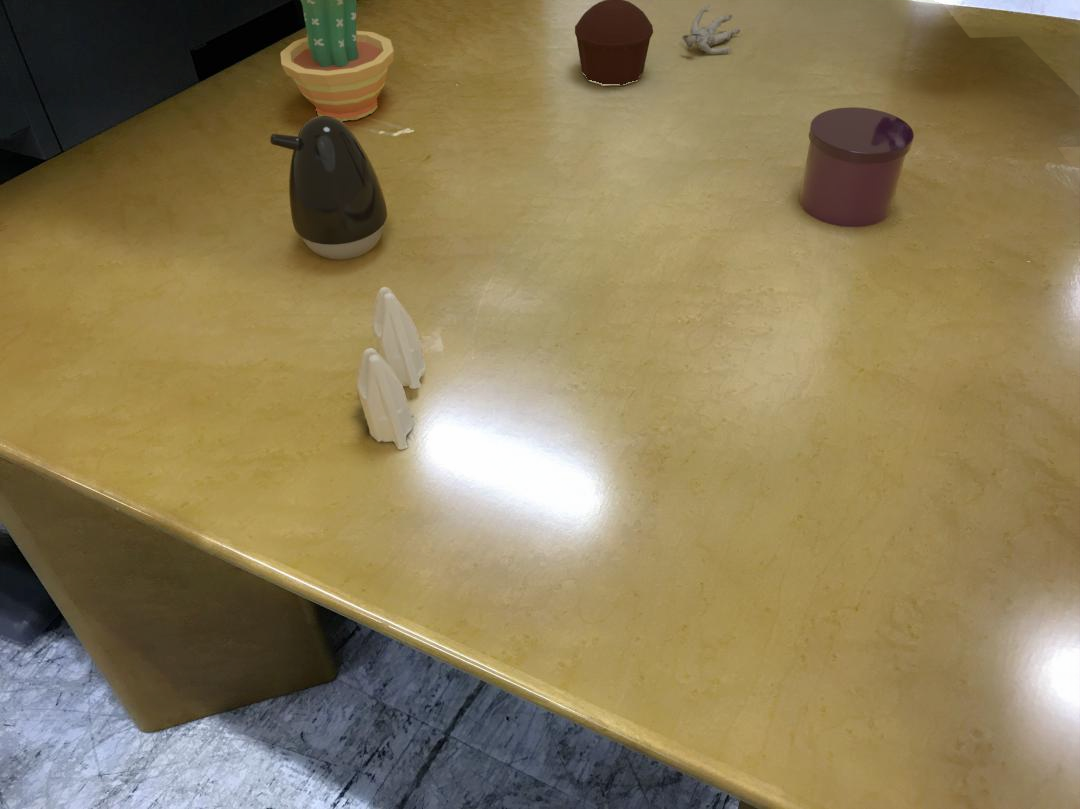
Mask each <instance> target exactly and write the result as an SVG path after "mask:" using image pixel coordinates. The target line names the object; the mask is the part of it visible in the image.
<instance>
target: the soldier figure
mask: <svg viewBox="0 0 1080 809" xmlns="http://www.w3.org/2000/svg"><path fill="white" fill-rule="evenodd" d="M711 7H712V5H711V4H707V5H704V6H703V7H702V8H701V9H700V10H699V12H698V13H697V15H696V17H695V18H694V19H693V21H692V24H691V28H690V34H684V35H682V36H681V38H682V39H683V42H685V44H686V46H687V49H688V51H690V50H691V49H692V47H693V46H694V45H696V47H697V48H698V49H699V50H700V51H702V52H704V53H706V54H707V55H720V54H721V55H722V54H723V53H726V54H729V52H732V51H733V47H731V46H726V47H723V48H712V46H713V47H714V46H716V45H718V44H721V43H723V42H724V41H729V40H730V39H731V36H734V35H738V34H739V33H740V32H741V28H740V27H736V28H734V29H731V30H729V31H727V30H725V31H724V32H721V33H716V31H717V29H718V28H719V27H721V25H722V24H725V23H726V22H729V21H731V20H732V18H733V17H734V14H733V13H732V12H730V13H728V14H726V15H725V16H723V17H716V19H714V20H712V21H711V23H710V24H709V25H708V27H707V26H702V27H699V24H700V22H701V20H702V17H703V15H704V13H708V12H710V10H708V9H709V8H711ZM715 33H716V34H715Z"/></svg>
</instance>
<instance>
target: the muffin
mask: <svg viewBox="0 0 1080 809" xmlns="http://www.w3.org/2000/svg"><path fill="white" fill-rule="evenodd" d="M653 34H654V27H653V24H652V23H651V21H650V20H649V18H648V17H647V15H646V14H645V12H644V11H642V10H641V9H640V8H639V7H638V6H637V5H635V4H634V3H632V2H630V1H628V0H601V1H598V2H597V3H595V4H594V5H592V6H591V7H589V9H587V10H586V11H585V12H584V13H583V15H581V17H580V19H579V20H578V21H577V23H576V24H575V25H574V35H575V37H576V43H577V50H578V56H579V62H580V69H581V73H582V72H583V73H584V74H585V75H586V77H587V79H588V80H592V81H596V82H599V83H602V84H620V85H623V84H626V83H628V82H632V81H636V80H638V79H640V77H641V76H642V75H643V74H644V69H645V65H646V60H647V56H648V53H649V52H648V51H649V47H650V46H649V45H650V42H651V38H652V36H653ZM642 73H643V74H642ZM641 74H642V75H641ZM640 75H641V76H640ZM639 76H640V77H639ZM587 79H586V80H587ZM638 81H639V80H638Z"/></svg>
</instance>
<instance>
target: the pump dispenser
mask: <svg viewBox="0 0 1080 809" xmlns="http://www.w3.org/2000/svg"><path fill="white" fill-rule="evenodd" d="M269 141H270V144H271V145H273V146H276V147H280V148H283V149H284V148H285V149H287V150H288V149H289V150H292V154H291V160H290V166H289V168H290V169H289V176H288V177H289V178H288V179H289V180H288V194H289V207H290V215H291V221H292V225H293V229H294V230H295V232H296V233H297V235H299V237H300V238H301V239H302V241H303V243H304V244H305V245H306V246H307V247H308V248H309V249H310V250H311V251H313V252H314V253H315V254H316V255H319V256H321V257H323V258H326V259H330V260H339V261H341V260H352V259H355V258H358V257H361V256H363V255H365V254H367V253H368V252H370V251H371V250H372V249H373V248H374V247H375V246H376V245H377V244H378V243H379V240H380V239H381V237H382V235H383V232H384V228H385V223H386V221H387V217H388V209H387V204H386V200H385V196H384V192H383V189H382V186H381V183H380V180H379V177H378V175H377V172H376V170H375V168H374V165H373V163H372V162H371V160H370V157H369V156H368V154H367V153H366V151H365V149H364V148H363V146H362V144H361V143H360V141H359V140H358V138H357V137H356V135H355V133H353V132H352V131H351V130H350V128H349V127H348V126H347V125H346V124H345V122H341V121H340V120H338V119H336V118H333V117H329V116H315V117H312V118H310V119H309V120H307V121H306V122H305V123H304V124H303V125H302V127H301V129H300V131H298V134H297V135H287V134H279V133H271V135H270V139H269Z"/></svg>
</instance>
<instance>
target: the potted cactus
mask: <svg viewBox="0 0 1080 809" xmlns="http://www.w3.org/2000/svg"><path fill="white" fill-rule="evenodd" d="M299 1H300V2H301V5H302V6H301V7H302V12H303V17H304V18H303V19H304V23H305V24H304V26H305V30H306V37H303V38H300V39H297V40H294V41H293V42H292V43H290V44H289V45H288V46H286V47H285V48H284V49H283V50H281V51H280V54H279V55H280V62H281V64H280V65H281V66H282V69H283V71H284V73H285V75H286V76H288V77H290V78H291V79H293V81H294V83H295V85H296V86H297V88H298V89H299V91H300V93H301V94H302V96H304V97H305V99H307V100H308V101H309V102H310V103H311V104H312V105H313V106H314V107H316V109H315V112H316V111H317V112H318V113H320V114H322V115H323V116H329V117H333V118H340V119H343V118H349V117H357V116H359V115H361V114H363V113H366V112H368V111H370V110H372V109H373V108H374V107H375V106H376V105H377V104H378V105H379V102H378V98H379V96H380V93H381V92H382V90H383V88H384V86H385V85H386V80H387V74H388V69H389V66H391V64H392V63H393V62H394V54H395V53H394V52H395V49H394V46H393V44H392V41H391V39H390V38H387V37H386V36H384V35H380V34H378V33H376V32H374V31H365V30H364V31H363V30H357V2H358V0H299ZM377 102H378V103H377Z"/></svg>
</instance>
